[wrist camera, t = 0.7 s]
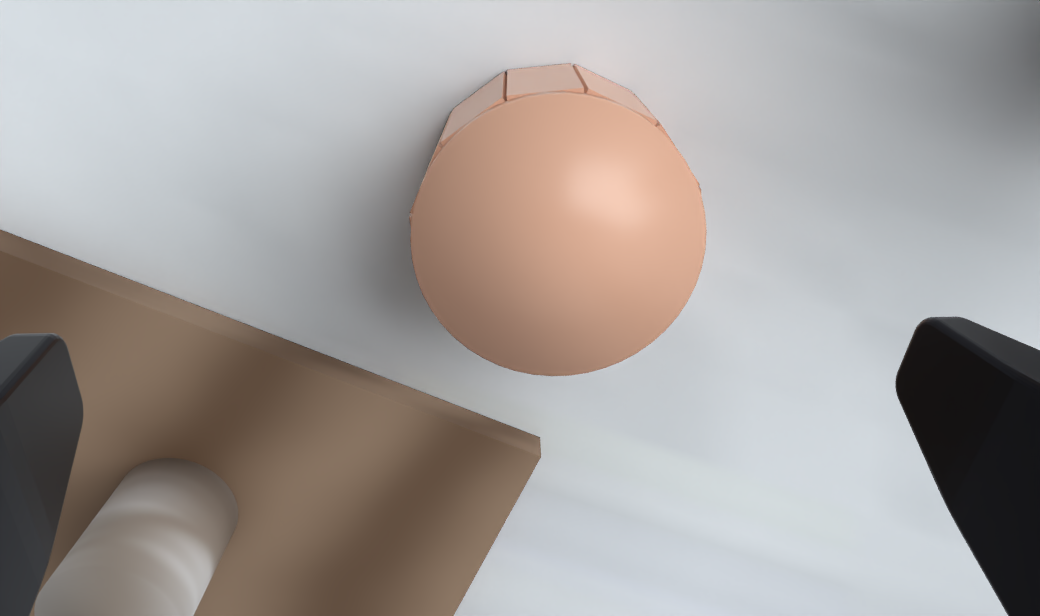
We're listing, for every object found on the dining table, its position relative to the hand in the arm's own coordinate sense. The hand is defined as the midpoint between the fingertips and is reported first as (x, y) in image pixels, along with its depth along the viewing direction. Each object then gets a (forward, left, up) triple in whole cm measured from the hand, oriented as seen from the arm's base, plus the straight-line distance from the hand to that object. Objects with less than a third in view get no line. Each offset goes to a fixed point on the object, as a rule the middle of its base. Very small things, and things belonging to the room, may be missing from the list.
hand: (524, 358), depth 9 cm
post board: (+5, +14, -13) cm, 20 cm away
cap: (-1, +1, -13) cm, 13 cm away
